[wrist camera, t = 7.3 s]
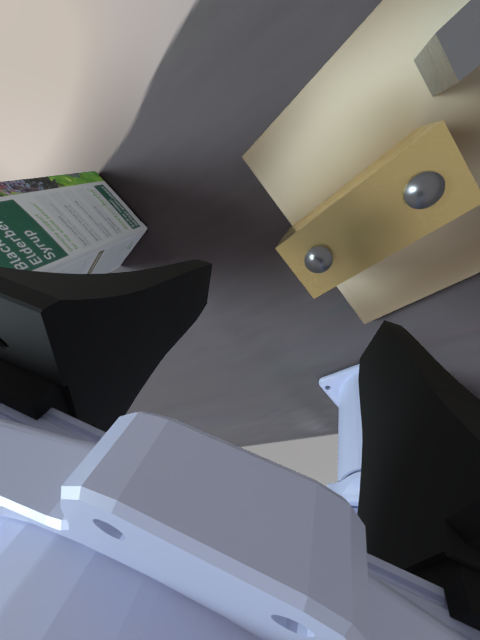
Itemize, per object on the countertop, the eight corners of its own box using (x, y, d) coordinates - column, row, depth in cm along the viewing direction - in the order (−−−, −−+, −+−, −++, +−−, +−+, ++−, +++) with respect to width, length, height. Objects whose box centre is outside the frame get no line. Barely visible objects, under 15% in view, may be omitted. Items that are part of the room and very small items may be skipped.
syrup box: (150, 228, 22) (-68, 319, 10) (119, 269, 25) (-72, 372, 14) (96, 169, 21) (-220, 197, 9) (71, 220, 24) (-183, 289, 12)
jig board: (804, 114, 10) (835, 112, 10) (363, 318, 20) (364, 324, 19) (718, -363, 7) (755, -414, 6) (245, 156, 17) (241, 157, 16)
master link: (451, 188, 14) (488, 202, 10) (319, 271, 18) (313, 300, 15) (418, 127, 13) (445, 119, 10) (288, 229, 18) (274, 249, 14)
